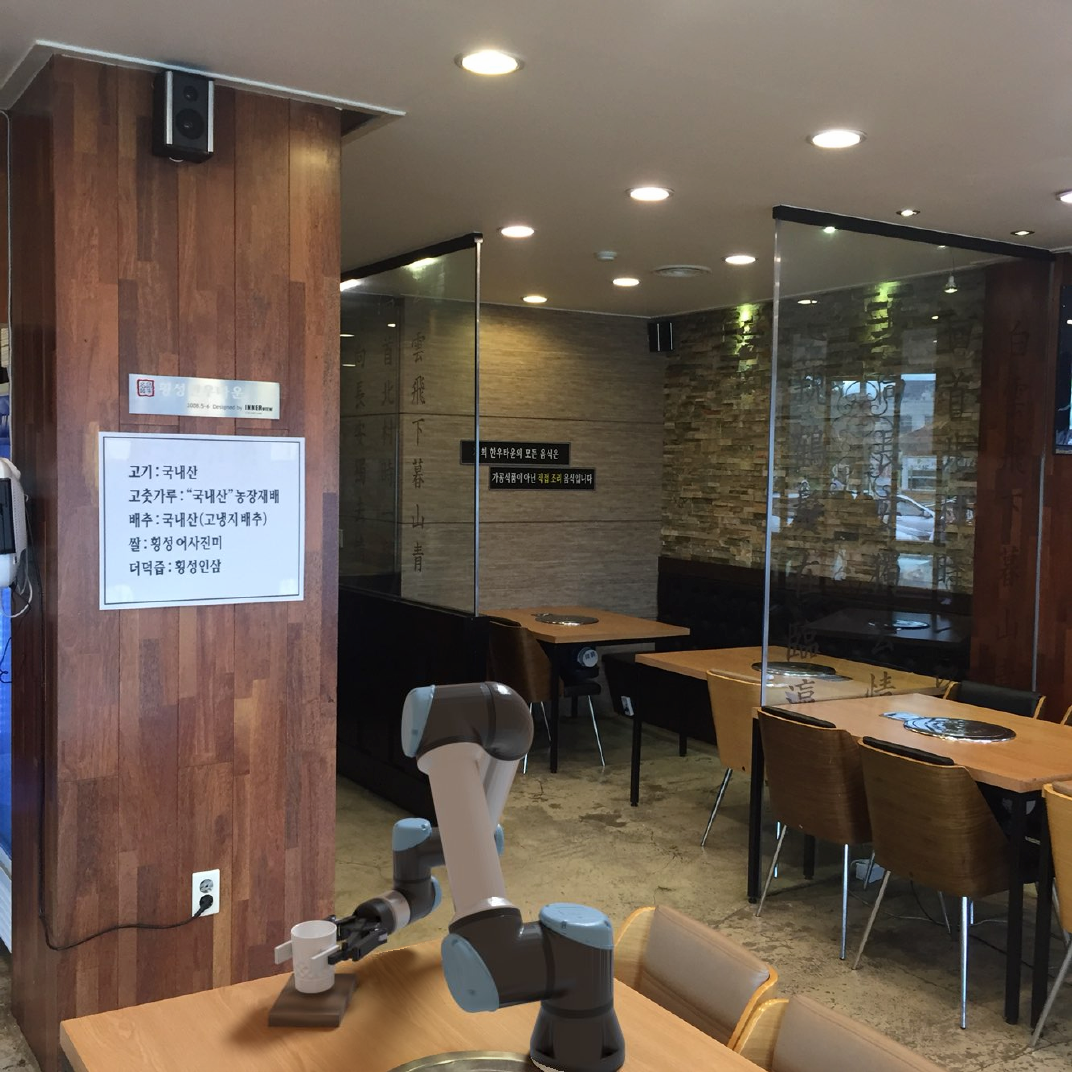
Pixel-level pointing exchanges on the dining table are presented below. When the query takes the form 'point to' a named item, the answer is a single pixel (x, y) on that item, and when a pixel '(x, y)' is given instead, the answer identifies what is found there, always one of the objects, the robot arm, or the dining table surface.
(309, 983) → the white cup
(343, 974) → the walnut board
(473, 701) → the robot arm
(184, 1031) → the dining table surface
